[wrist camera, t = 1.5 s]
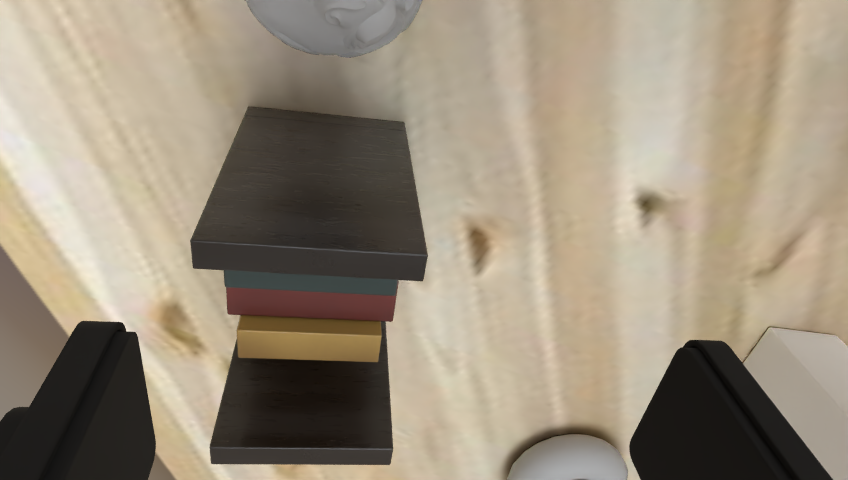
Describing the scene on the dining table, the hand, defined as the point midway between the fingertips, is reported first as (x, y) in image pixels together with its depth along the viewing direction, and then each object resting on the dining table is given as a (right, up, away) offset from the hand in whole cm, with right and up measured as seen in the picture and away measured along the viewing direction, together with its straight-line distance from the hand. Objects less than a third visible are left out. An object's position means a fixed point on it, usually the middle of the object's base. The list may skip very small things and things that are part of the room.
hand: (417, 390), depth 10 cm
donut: (+12, -16, +39) cm, 44 cm away
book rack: (-6, +4, +23) cm, 24 cm away
